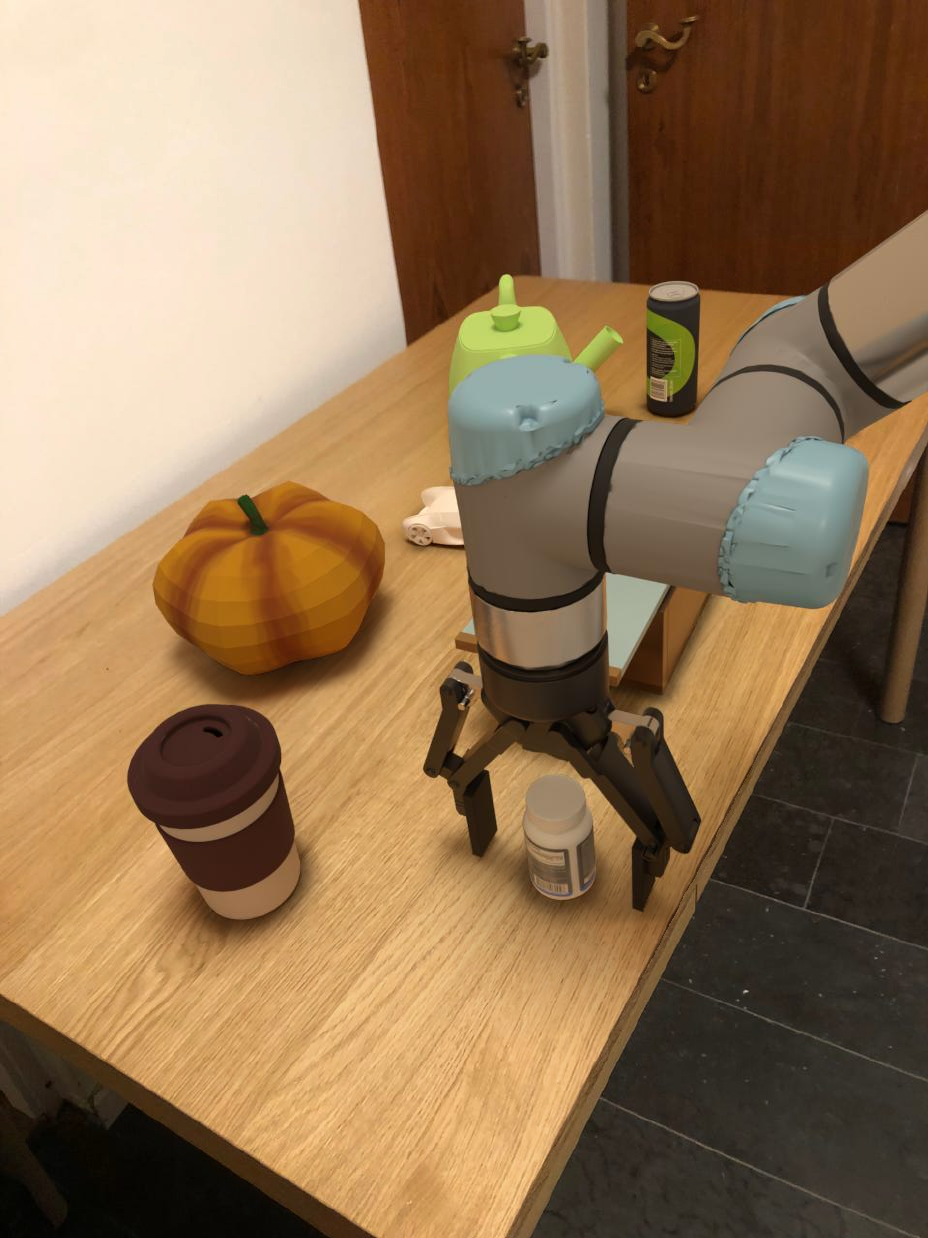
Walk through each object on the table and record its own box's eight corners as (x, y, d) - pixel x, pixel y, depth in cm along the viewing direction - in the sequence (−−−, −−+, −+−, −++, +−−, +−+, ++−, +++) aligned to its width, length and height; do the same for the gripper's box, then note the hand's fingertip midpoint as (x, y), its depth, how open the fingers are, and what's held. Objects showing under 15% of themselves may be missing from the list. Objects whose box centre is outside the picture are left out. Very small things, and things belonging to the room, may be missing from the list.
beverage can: (703, 413, 119) (708, 294, 110) (654, 421, 119) (655, 303, 110) (687, 392, 124) (690, 276, 115) (640, 400, 124) (640, 285, 115)
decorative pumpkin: (145, 697, 89) (87, 566, 80) (240, 560, 106) (201, 438, 96) (349, 714, 84) (312, 576, 75) (415, 567, 100) (392, 439, 91)
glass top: (689, 550, 81) (690, 507, 79) (617, 687, 69) (616, 641, 67) (545, 526, 87) (542, 485, 84) (455, 648, 75) (448, 605, 72)
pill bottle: (575, 837, 71) (569, 759, 66) (608, 884, 67) (605, 806, 62) (517, 863, 70) (507, 785, 64) (548, 912, 66) (540, 834, 61)
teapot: (634, 463, 112) (633, 332, 102) (451, 479, 114) (433, 353, 104) (612, 372, 131) (610, 255, 122) (456, 388, 133) (441, 274, 123)
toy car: (401, 544, 104) (394, 509, 101) (426, 506, 110) (420, 471, 107) (562, 560, 98) (559, 523, 96) (580, 518, 104) (578, 482, 101)
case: (719, 575, 93) (724, 495, 88) (662, 695, 81) (663, 612, 76) (584, 551, 99) (580, 475, 94) (512, 659, 87) (503, 580, 82)
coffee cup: (202, 962, 66) (129, 821, 57) (175, 859, 74) (108, 720, 64) (336, 903, 69) (288, 758, 59) (298, 809, 76) (250, 668, 67)
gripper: (769, 633, 52) (744, 878, 66) (394, 558, 62) (439, 784, 75) (734, 726, 47) (714, 971, 61) (332, 628, 57) (392, 857, 70)
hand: (561, 867), depth 68 cm, fingers open, 11 cm apart
